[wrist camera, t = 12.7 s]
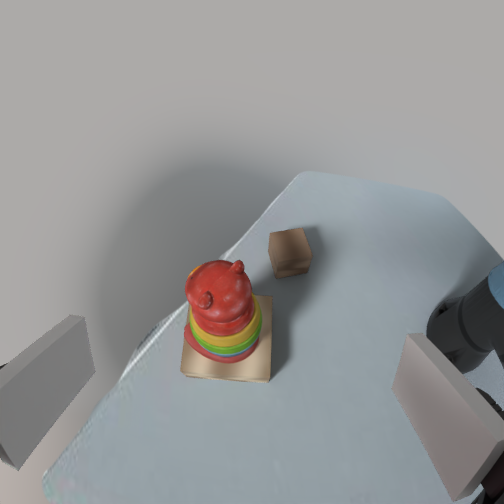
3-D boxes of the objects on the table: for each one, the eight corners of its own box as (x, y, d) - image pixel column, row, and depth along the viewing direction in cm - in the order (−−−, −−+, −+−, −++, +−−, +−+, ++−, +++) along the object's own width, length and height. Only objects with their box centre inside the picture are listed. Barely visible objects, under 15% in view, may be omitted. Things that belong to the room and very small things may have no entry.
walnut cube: (298, 246, 60) (302, 227, 55) (307, 272, 56) (312, 255, 51) (268, 251, 59) (269, 232, 54) (275, 278, 56) (278, 261, 51)
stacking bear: (230, 289, 49) (222, 217, 34) (276, 331, 45) (291, 275, 30) (178, 333, 45) (143, 277, 30) (224, 381, 41) (208, 350, 26)
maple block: (270, 308, 53) (272, 296, 48) (268, 382, 45) (270, 377, 41) (195, 304, 53) (191, 291, 49) (186, 376, 46) (180, 370, 42)
